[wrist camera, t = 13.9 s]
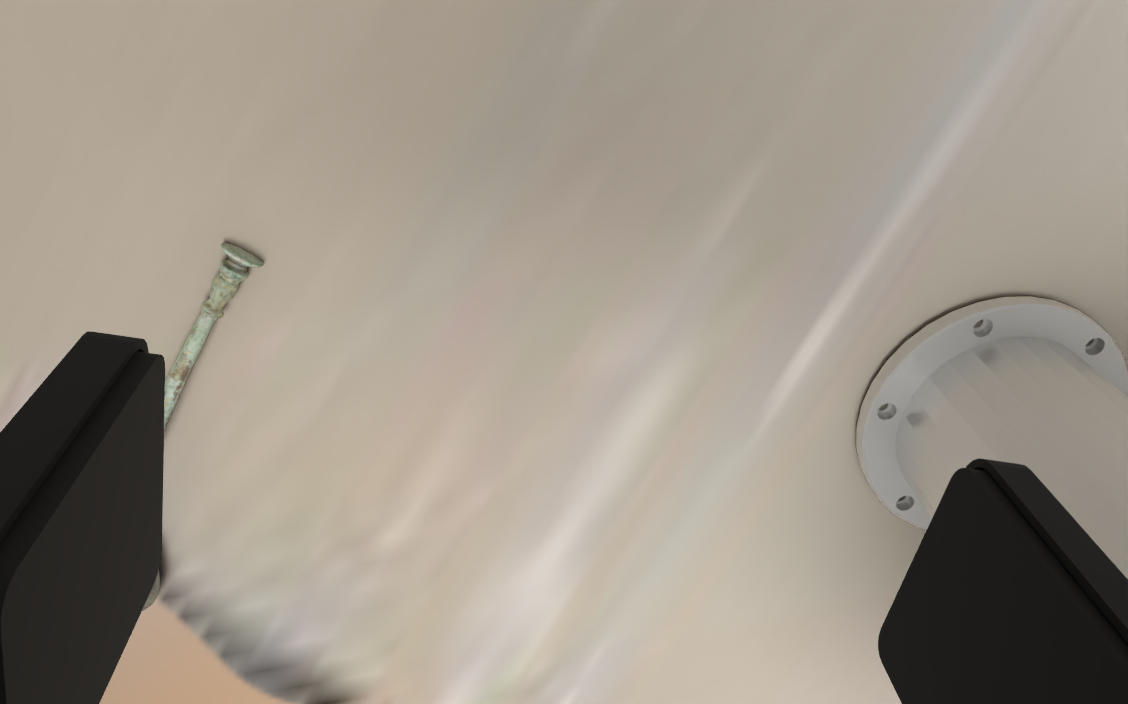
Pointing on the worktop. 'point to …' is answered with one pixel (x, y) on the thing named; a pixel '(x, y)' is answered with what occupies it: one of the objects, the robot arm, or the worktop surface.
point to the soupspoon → (204, 336)
